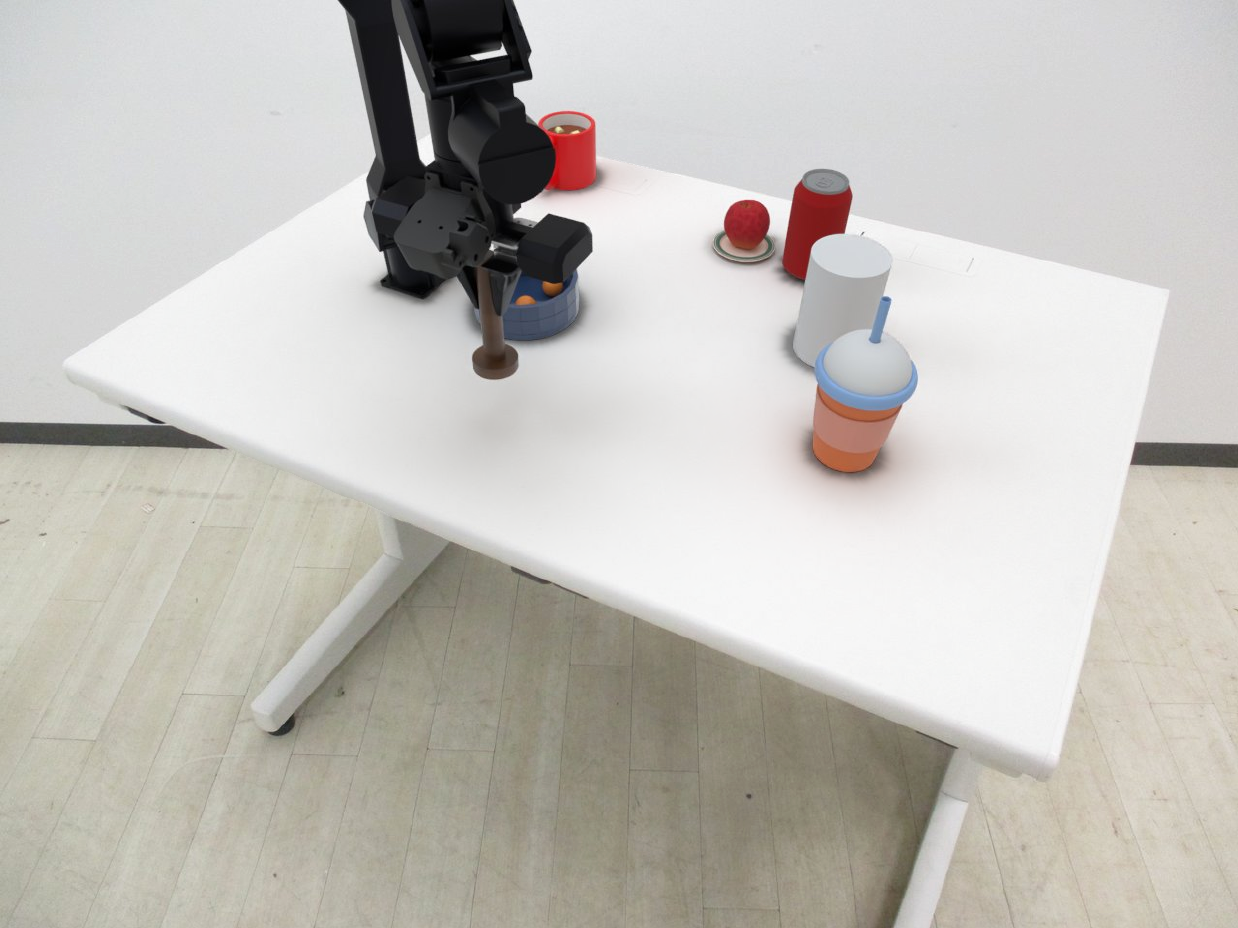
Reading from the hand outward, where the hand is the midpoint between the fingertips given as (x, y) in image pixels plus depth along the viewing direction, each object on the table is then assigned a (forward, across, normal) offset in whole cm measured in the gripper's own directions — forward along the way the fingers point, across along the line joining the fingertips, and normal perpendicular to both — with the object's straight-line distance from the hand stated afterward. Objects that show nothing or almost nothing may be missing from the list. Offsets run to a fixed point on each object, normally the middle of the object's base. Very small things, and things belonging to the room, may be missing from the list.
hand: (491, 310), depth 77 cm
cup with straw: (+13, +33, +11) cm, 37 cm away
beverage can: (+13, +20, +40) cm, 46 cm away
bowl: (+13, -7, +17) cm, 23 cm away
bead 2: (+11, -5, +20) cm, 23 cm away
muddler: (+6, 0, 0) cm, 6 cm away
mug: (+13, -18, +45) cm, 50 cm away
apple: (+13, +11, +41) cm, 44 cm away
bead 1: (+11, -6, +15) cm, 20 cm away
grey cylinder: (+13, +27, +26) cm, 39 cm away
